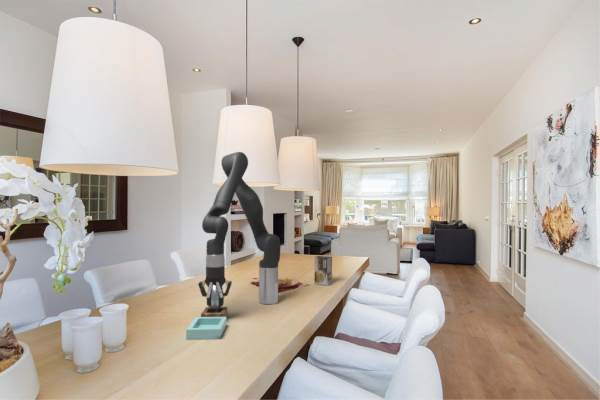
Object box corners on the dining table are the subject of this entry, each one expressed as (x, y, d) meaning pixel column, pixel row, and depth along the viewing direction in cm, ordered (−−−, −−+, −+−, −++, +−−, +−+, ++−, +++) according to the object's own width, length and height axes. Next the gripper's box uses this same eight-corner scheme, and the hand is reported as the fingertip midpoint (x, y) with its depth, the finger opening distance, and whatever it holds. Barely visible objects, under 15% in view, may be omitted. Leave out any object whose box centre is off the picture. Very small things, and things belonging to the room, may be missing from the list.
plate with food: (278, 294, 183) (278, 287, 183) (249, 284, 202) (249, 278, 202) (310, 287, 200) (310, 281, 200) (280, 278, 219) (281, 272, 219)
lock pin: (221, 315, 142) (221, 282, 142) (219, 319, 138) (219, 284, 138) (211, 316, 142) (211, 282, 142) (209, 319, 138) (209, 285, 138)
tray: (226, 325, 134) (226, 316, 134) (220, 339, 121) (220, 329, 121) (195, 326, 133) (195, 317, 133) (186, 339, 120) (186, 329, 120)
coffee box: (332, 283, 204) (332, 256, 204) (327, 285, 198) (327, 258, 198) (319, 281, 209) (319, 255, 209) (313, 283, 203) (314, 256, 203)
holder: (227, 316, 145) (227, 306, 145) (223, 323, 136) (223, 313, 136) (206, 316, 145) (206, 307, 145) (200, 324, 136) (201, 314, 136)
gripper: (233, 262, 144) (233, 303, 144) (200, 263, 144) (200, 303, 144) (231, 266, 137) (231, 308, 137) (195, 266, 136) (195, 309, 136)
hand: (215, 306), depth 140 cm, fingers closed on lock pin, 4 cm apart
